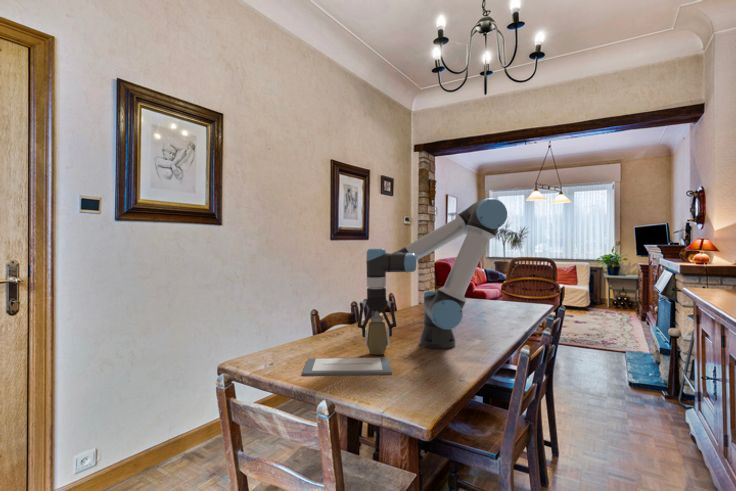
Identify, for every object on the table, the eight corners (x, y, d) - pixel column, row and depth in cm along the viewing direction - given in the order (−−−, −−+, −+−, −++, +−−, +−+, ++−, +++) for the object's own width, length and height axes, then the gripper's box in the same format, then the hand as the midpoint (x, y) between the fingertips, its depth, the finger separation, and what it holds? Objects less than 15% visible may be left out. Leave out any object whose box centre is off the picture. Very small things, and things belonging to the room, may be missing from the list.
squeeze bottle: (385, 356, 148) (385, 309, 147) (365, 355, 149) (364, 309, 149) (388, 350, 156) (388, 306, 155) (369, 349, 157) (368, 305, 157)
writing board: (387, 359, 146) (387, 356, 146) (391, 374, 130) (391, 371, 130) (308, 360, 145) (308, 357, 145) (302, 375, 129) (302, 372, 129)
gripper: (401, 285, 156) (402, 341, 157) (350, 286, 156) (351, 342, 156) (403, 288, 149) (404, 347, 149) (349, 289, 148) (350, 348, 148)
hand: (377, 344), depth 152 cm, fingers closed on squeeze bottle, 8 cm apart
